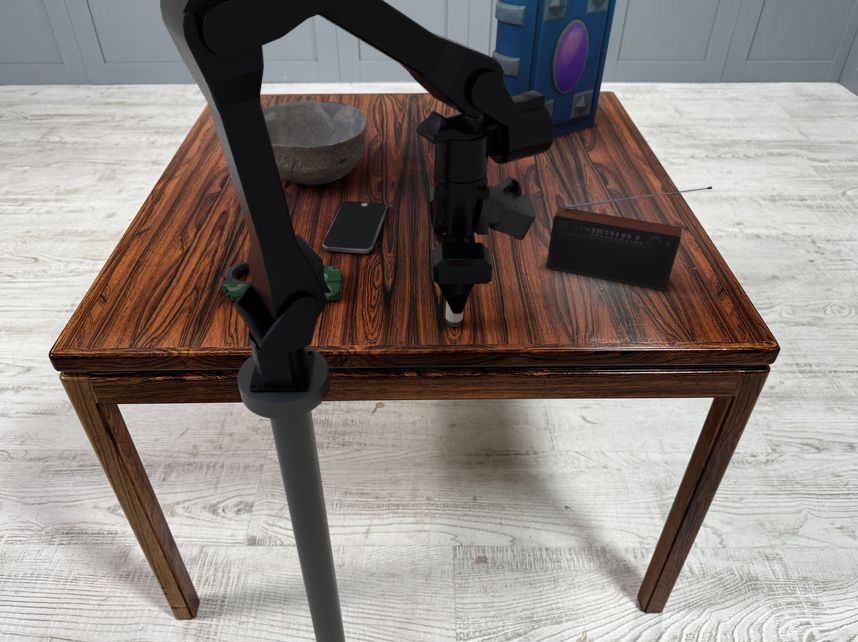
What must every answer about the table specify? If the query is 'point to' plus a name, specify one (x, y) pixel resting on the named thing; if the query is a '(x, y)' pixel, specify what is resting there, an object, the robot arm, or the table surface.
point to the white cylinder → (453, 317)
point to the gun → (236, 287)
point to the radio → (613, 246)
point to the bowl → (315, 140)
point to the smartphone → (355, 227)
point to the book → (556, 54)
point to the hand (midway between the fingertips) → (455, 290)
